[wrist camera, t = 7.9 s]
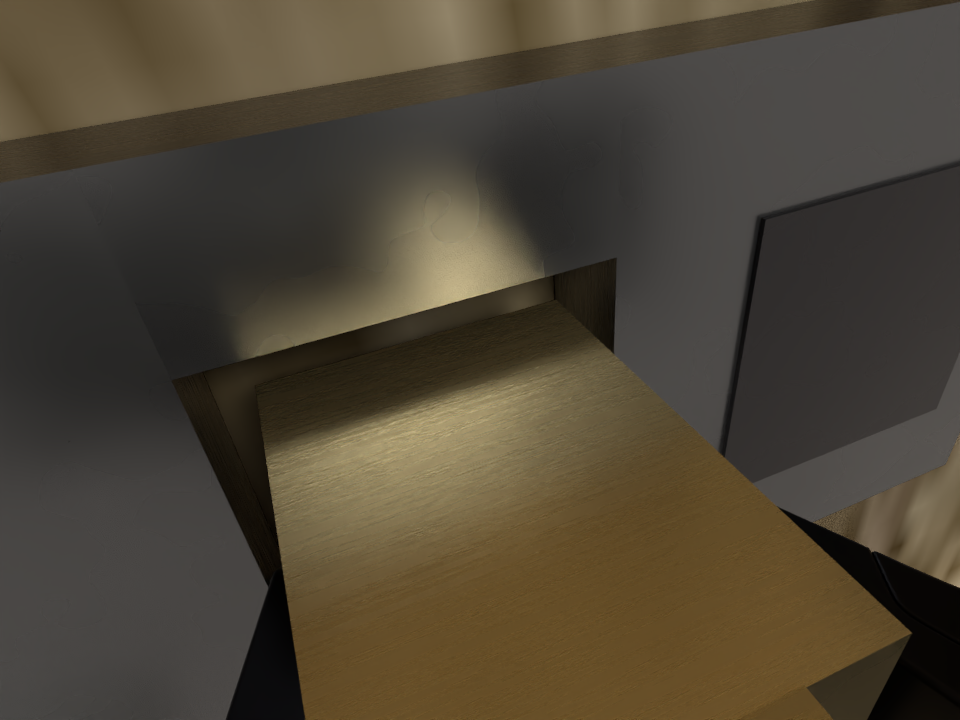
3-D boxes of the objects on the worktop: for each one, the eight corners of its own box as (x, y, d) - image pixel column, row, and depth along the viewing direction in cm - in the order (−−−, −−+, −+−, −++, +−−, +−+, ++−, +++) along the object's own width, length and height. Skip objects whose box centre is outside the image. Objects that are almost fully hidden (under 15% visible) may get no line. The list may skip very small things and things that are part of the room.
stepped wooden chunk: (555, 296, 10) (1022, 729, 4) (561, 504, 12) (854, 935, 7) (254, 383, 8) (364, 1124, 3) (332, 591, 11) (465, 1189, 6)
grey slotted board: (1037, -39, 12) (1178, -38, 10) (878, 419, 18) (948, 466, 16) (-579, 243, 6) (-870, 349, 4) (14, 762, 12) (-13, 888, 11)
